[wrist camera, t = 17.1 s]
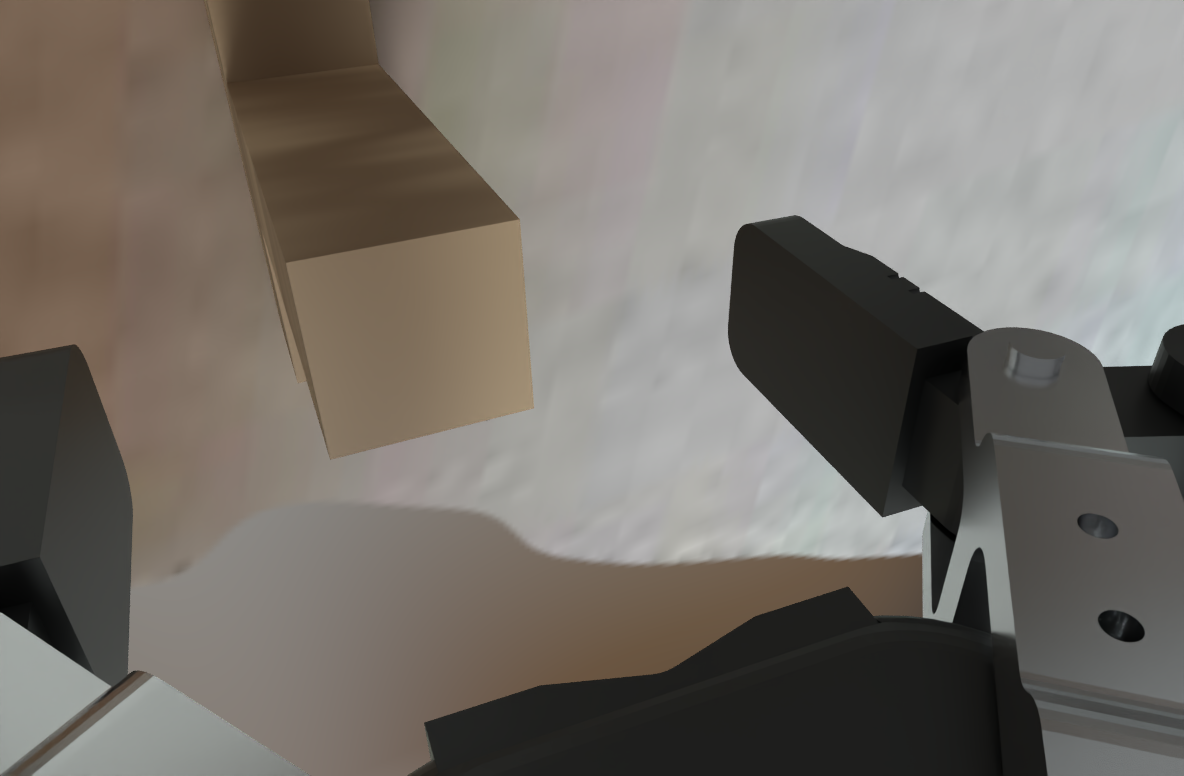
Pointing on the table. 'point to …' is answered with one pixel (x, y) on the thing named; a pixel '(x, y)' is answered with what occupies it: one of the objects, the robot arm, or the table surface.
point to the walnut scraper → (371, 231)
